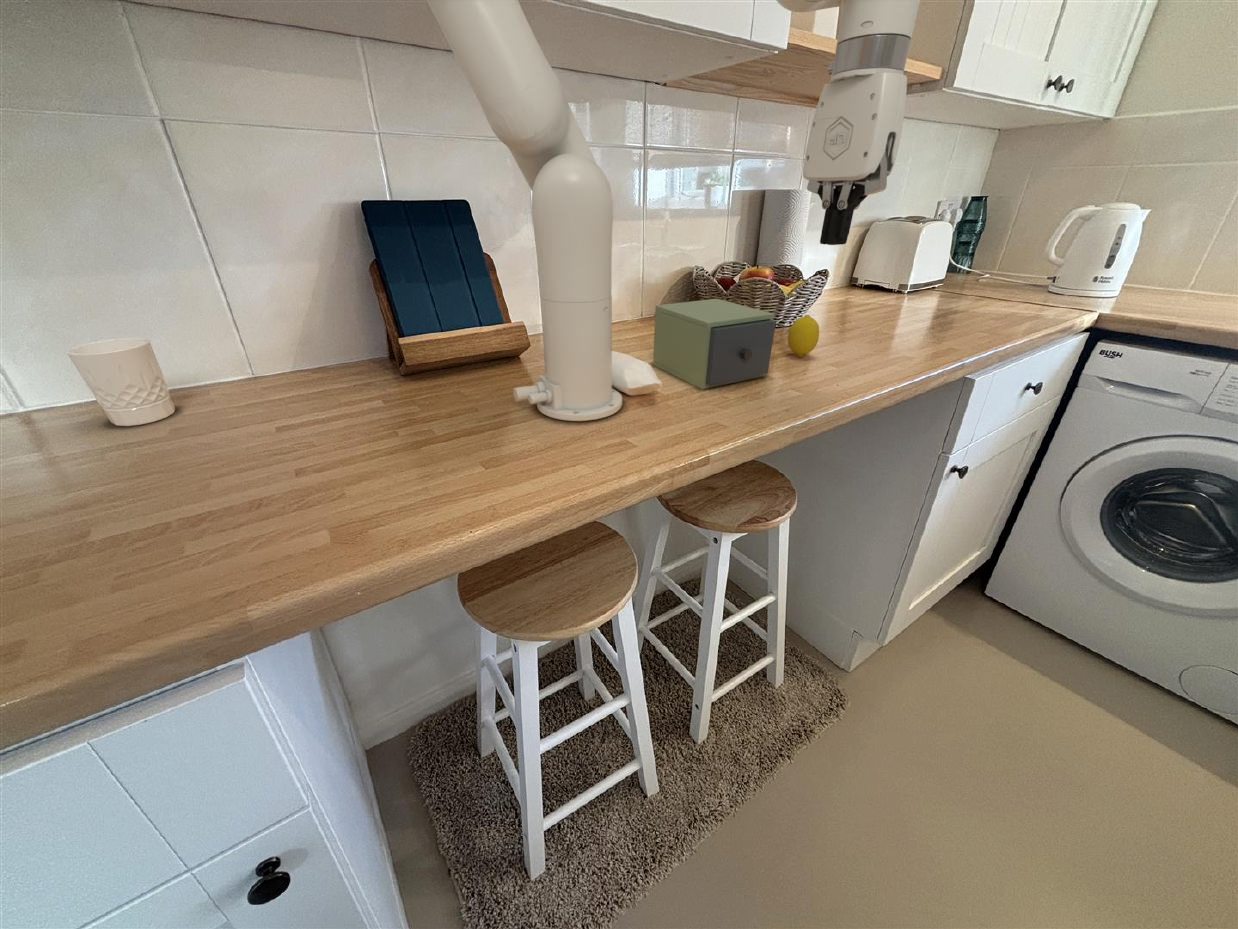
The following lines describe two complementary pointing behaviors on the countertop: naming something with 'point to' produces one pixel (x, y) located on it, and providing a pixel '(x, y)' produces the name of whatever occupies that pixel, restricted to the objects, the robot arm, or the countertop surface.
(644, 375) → the white pouch
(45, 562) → the countertop surface
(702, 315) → the cabinet
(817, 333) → the lemon
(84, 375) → the white cup
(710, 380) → the drawer
